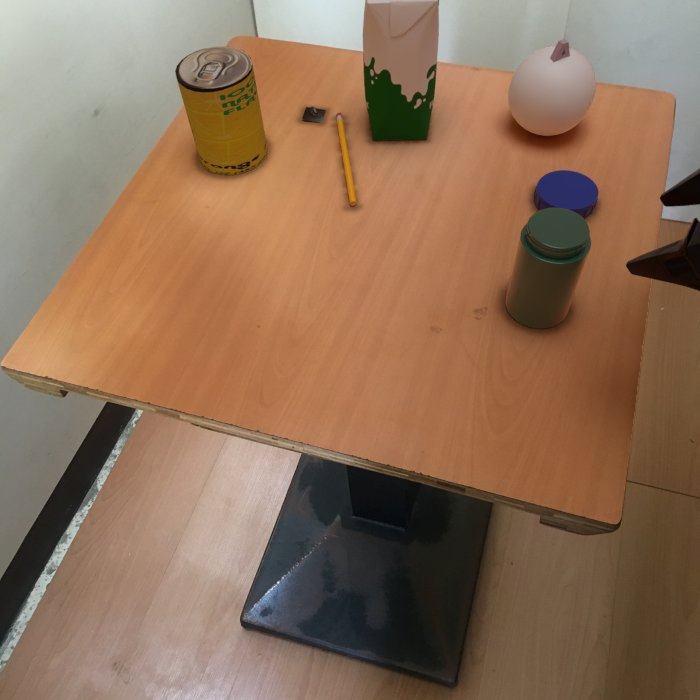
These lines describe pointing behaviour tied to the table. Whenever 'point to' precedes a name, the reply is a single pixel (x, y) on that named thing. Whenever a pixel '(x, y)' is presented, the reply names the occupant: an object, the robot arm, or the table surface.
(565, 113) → the ornament
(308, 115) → the dark square tile
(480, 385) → the table surface
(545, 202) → the lid
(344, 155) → the pencil
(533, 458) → the table surface
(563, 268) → the jar
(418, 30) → the soya milk
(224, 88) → the beverage can
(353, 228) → the table surface
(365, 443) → the table surface
